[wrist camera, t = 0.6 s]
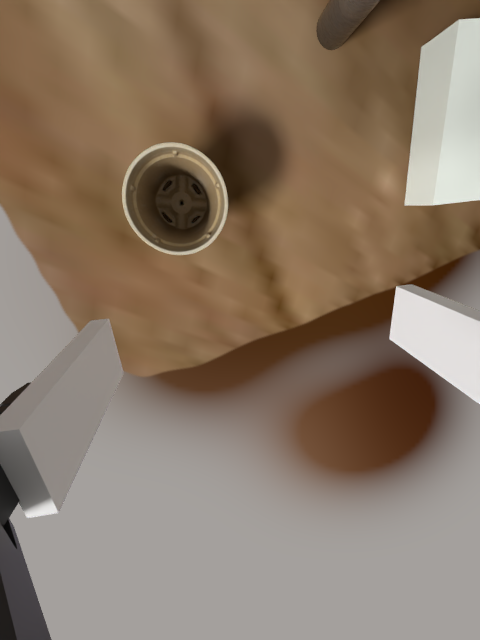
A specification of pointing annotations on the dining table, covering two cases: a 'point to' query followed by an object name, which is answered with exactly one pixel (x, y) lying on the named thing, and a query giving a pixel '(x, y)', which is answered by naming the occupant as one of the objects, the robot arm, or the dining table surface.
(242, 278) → the dining table surface
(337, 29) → the pin
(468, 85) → the bore block
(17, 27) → the dining table surface
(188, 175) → the flower pot
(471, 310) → the robot arm
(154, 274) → the dining table surface
